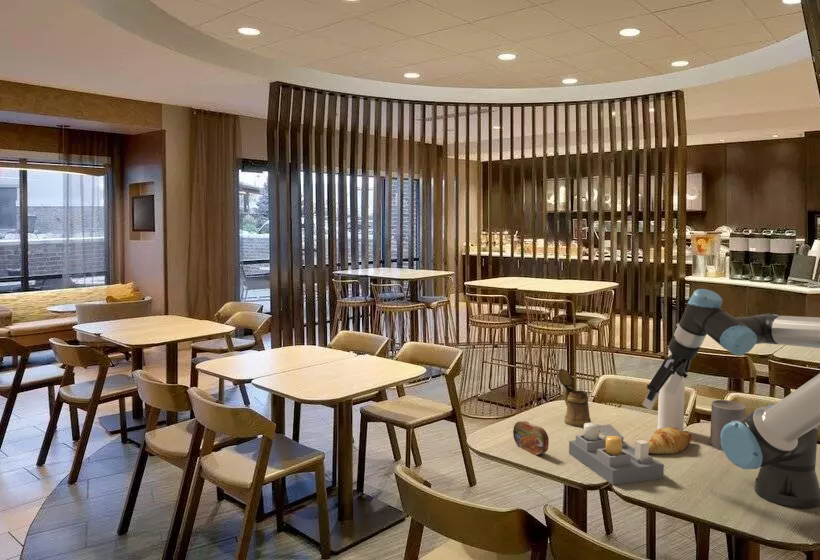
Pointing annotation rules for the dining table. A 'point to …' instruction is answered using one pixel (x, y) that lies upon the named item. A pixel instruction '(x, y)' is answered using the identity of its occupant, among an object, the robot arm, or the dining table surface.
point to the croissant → (668, 441)
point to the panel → (615, 461)
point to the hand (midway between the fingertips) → (658, 399)
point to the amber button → (614, 445)
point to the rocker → (609, 431)
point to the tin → (531, 437)
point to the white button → (591, 431)
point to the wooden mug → (574, 402)
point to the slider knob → (641, 449)
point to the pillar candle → (723, 418)
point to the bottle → (671, 406)
